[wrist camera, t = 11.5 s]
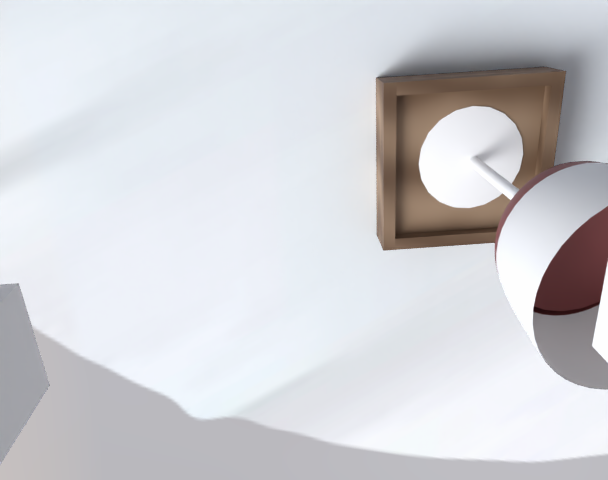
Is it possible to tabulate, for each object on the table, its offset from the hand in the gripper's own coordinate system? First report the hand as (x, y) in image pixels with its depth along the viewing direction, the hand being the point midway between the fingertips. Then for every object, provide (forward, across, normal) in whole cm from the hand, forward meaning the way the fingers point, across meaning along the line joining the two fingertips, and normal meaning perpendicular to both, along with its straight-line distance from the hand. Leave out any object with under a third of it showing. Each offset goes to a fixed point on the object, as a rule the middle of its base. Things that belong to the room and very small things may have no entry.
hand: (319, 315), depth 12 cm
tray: (+35, +14, -6) cm, 38 cm away
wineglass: (+32, +14, -6) cm, 36 cm away
